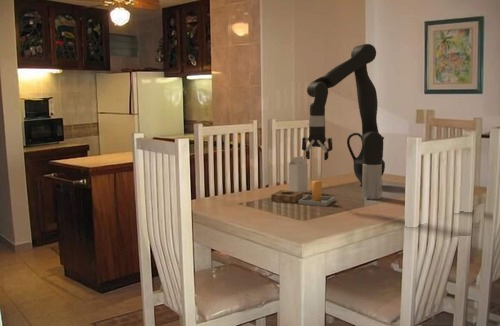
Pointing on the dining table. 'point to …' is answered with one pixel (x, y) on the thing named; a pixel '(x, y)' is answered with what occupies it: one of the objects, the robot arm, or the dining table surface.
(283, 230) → the dining table surface
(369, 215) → the dining table surface
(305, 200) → the tray
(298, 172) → the milk carton
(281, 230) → the dining table surface
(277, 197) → the socket block
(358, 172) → the pitcher
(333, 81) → the robot arm
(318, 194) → the plug
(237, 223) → the dining table surface
